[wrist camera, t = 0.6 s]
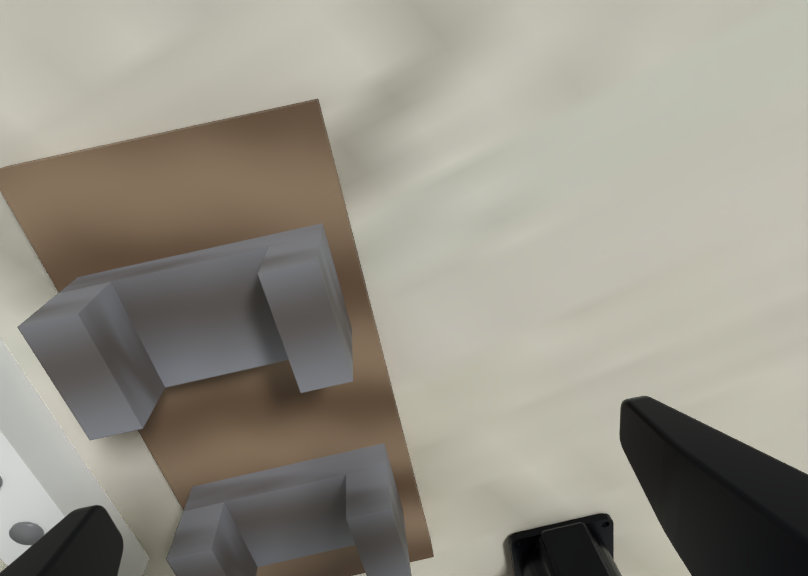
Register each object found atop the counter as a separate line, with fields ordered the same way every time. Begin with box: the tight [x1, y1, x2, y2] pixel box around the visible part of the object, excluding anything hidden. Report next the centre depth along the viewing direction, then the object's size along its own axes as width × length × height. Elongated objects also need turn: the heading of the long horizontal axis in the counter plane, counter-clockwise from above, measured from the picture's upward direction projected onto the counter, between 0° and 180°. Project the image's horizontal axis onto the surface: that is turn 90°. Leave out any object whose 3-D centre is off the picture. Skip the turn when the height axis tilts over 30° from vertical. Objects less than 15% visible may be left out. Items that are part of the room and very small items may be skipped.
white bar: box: [0, 337, 149, 576], centre depth 23 cm, size 18×4×3 cm, turn 12°
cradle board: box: [0, 99, 434, 576], centre depth 22 cm, size 26×12×5 cm, turn 11°
